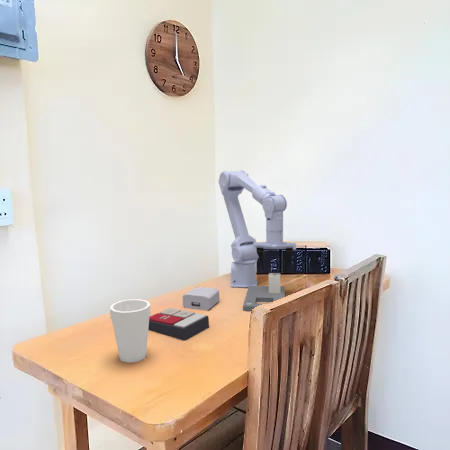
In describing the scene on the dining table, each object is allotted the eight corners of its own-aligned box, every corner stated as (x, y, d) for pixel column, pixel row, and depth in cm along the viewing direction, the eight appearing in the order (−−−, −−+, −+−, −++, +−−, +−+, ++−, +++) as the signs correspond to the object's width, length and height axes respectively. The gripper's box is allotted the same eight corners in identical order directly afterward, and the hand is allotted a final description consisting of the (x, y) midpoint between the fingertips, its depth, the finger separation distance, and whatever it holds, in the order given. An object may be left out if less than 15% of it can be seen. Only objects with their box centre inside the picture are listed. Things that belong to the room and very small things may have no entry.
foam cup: (155, 347, 106) (153, 298, 104) (149, 365, 97) (146, 312, 95) (118, 348, 106) (115, 299, 104) (108, 366, 97) (104, 312, 95)
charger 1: (226, 297, 146) (209, 311, 132) (201, 294, 149) (183, 308, 136) (225, 283, 145) (208, 297, 132) (201, 281, 149) (182, 294, 135)
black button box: (169, 306, 127) (208, 313, 119) (170, 319, 128) (209, 327, 119) (143, 317, 118) (183, 326, 110) (144, 332, 119) (185, 341, 110)
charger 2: (268, 292, 144) (268, 275, 143) (269, 289, 148) (269, 272, 147) (280, 293, 143) (280, 276, 143) (280, 289, 147) (280, 272, 146)
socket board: (242, 310, 132) (242, 305, 131) (249, 289, 153) (249, 284, 153) (284, 312, 130) (284, 306, 130) (284, 290, 151) (284, 285, 151)
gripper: (252, 232, 140) (252, 271, 142) (296, 232, 138) (296, 272, 140) (254, 229, 147) (254, 266, 149) (295, 229, 144) (295, 267, 146)
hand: (274, 269), depth 145 cm, fingers open, 7 cm apart
